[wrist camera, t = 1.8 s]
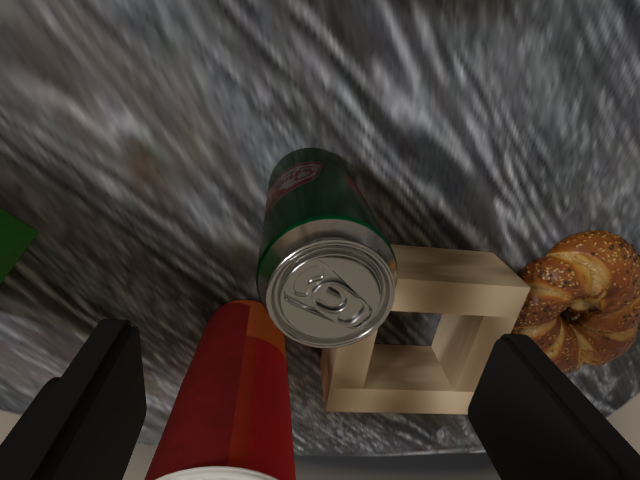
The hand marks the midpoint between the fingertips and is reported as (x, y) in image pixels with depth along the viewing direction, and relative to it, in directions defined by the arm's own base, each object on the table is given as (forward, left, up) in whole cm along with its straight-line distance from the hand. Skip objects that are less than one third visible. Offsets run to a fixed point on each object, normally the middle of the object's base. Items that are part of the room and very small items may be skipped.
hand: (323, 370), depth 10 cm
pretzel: (-21, +7, -15) cm, 27 cm away
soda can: (0, 0, -15) cm, 15 cm away
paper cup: (+3, +11, -15) cm, 19 cm away
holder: (-8, +9, -15) cm, 19 cm away
